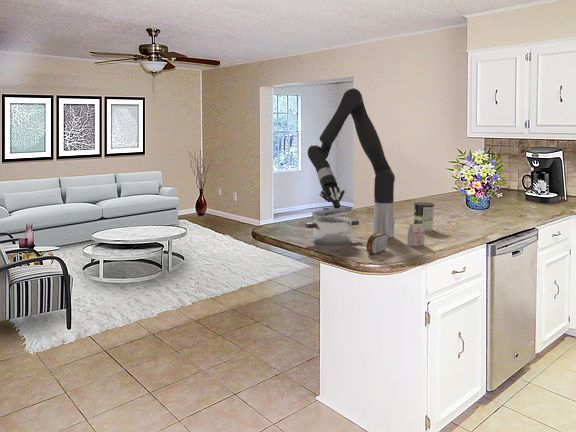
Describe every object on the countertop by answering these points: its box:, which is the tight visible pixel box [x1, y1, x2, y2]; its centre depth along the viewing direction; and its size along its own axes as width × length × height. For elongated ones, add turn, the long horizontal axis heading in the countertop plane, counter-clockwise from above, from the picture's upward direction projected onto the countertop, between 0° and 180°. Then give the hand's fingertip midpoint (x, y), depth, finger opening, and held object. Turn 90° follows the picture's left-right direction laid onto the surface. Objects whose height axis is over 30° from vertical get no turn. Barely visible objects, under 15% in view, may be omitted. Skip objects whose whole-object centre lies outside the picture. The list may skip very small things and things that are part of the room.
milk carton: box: [406, 224, 426, 247], centre depth 235 cm, size 4×7×10 cm, turn 115°
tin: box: [366, 232, 389, 255], centre depth 221 cm, size 15×3×8 cm, turn 141°
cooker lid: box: [311, 207, 353, 218], centre depth 242 cm, size 19×19×4 cm
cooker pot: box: [304, 216, 360, 246], centre depth 243 cm, size 27×18×10 cm, turn 112°
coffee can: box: [412, 201, 435, 232], centre depth 271 cm, size 10×10×14 cm
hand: (337, 208), depth 236 cm, fingers closed
